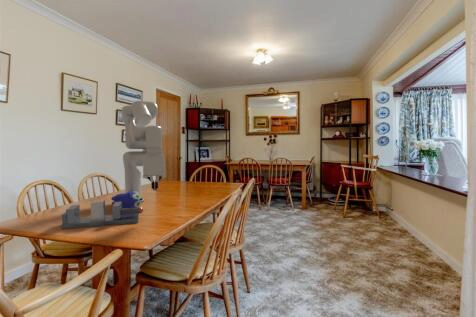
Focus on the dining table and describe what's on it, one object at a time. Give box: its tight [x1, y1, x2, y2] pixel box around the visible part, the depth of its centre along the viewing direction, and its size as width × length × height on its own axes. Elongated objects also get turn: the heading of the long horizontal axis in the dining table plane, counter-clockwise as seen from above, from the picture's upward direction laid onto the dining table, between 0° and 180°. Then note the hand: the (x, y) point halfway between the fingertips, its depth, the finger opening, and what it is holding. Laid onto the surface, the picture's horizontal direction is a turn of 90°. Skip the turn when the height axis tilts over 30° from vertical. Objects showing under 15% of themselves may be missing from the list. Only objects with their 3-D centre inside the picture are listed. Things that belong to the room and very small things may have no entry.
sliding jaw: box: [112, 202, 144, 219], centre depth 125 cm, size 9×13×6 cm
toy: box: [111, 191, 143, 209], centre depth 146 cm, size 10×17×15 cm
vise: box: [61, 204, 140, 230], centre depth 121 cm, size 10×30×8 cm, turn 108°
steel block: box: [90, 199, 106, 221], centre depth 121 cm, size 5×5×8 cm
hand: (154, 190), depth 127 cm, fingers closed
